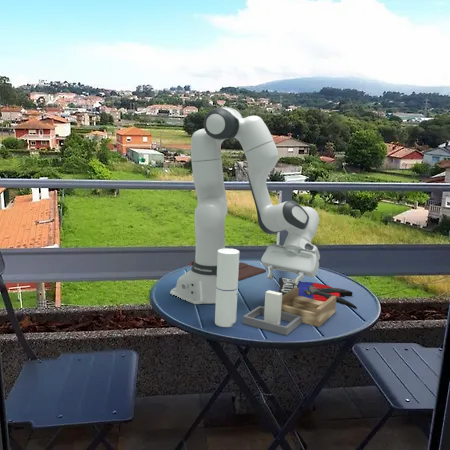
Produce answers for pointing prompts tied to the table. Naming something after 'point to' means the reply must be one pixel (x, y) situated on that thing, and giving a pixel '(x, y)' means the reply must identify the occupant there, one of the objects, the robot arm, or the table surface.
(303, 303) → the offcut top
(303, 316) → the tray
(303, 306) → the offcut middle
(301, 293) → the black red irregular piece
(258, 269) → the notebook
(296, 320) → the charcoal tray
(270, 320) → the white upright pillar
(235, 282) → the cylindrical container
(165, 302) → the table surface
